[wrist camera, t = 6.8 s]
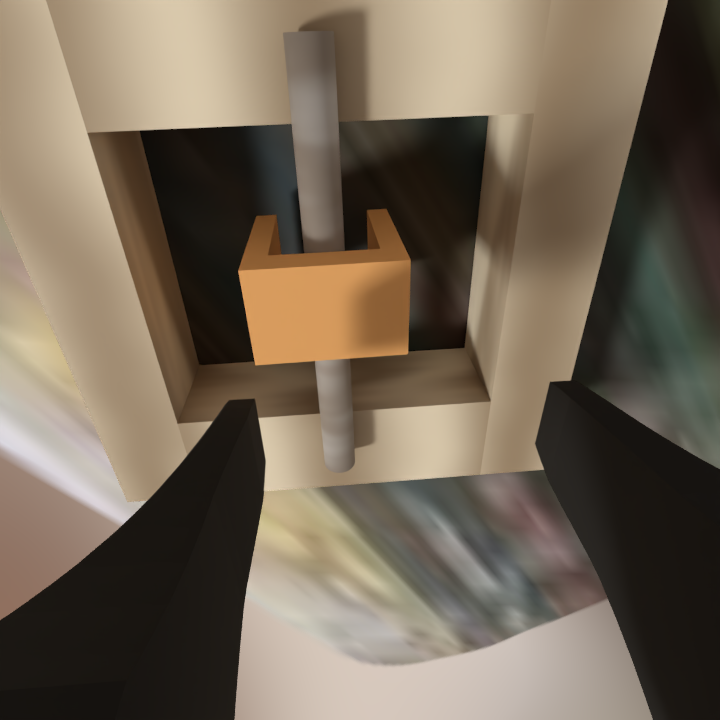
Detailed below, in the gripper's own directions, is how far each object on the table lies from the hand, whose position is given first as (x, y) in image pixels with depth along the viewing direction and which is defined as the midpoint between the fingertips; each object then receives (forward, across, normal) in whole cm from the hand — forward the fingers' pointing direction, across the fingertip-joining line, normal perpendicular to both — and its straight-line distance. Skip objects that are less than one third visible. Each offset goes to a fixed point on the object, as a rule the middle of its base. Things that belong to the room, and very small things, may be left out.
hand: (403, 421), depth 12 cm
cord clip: (+8, +2, -1) cm, 8 cm away
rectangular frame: (+9, +2, -1) cm, 10 cm away
